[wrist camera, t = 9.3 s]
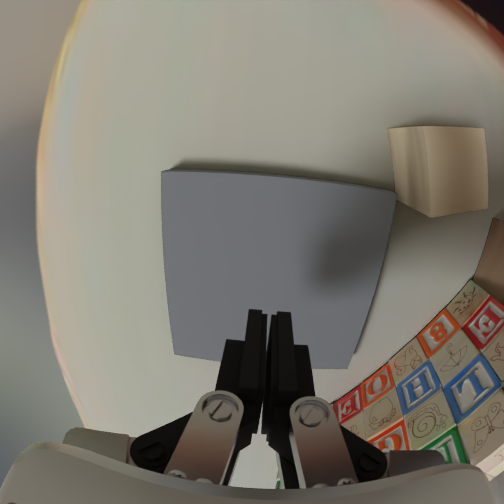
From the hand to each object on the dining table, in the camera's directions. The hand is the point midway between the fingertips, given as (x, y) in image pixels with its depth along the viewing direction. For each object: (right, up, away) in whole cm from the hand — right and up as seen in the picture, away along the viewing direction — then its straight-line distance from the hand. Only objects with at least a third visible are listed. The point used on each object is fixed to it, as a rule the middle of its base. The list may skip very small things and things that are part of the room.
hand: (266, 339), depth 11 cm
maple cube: (+9, +9, +2) cm, 13 cm away
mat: (+1, +2, +5) cm, 6 cm away
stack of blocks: (+12, -8, +8) cm, 16 cm away
